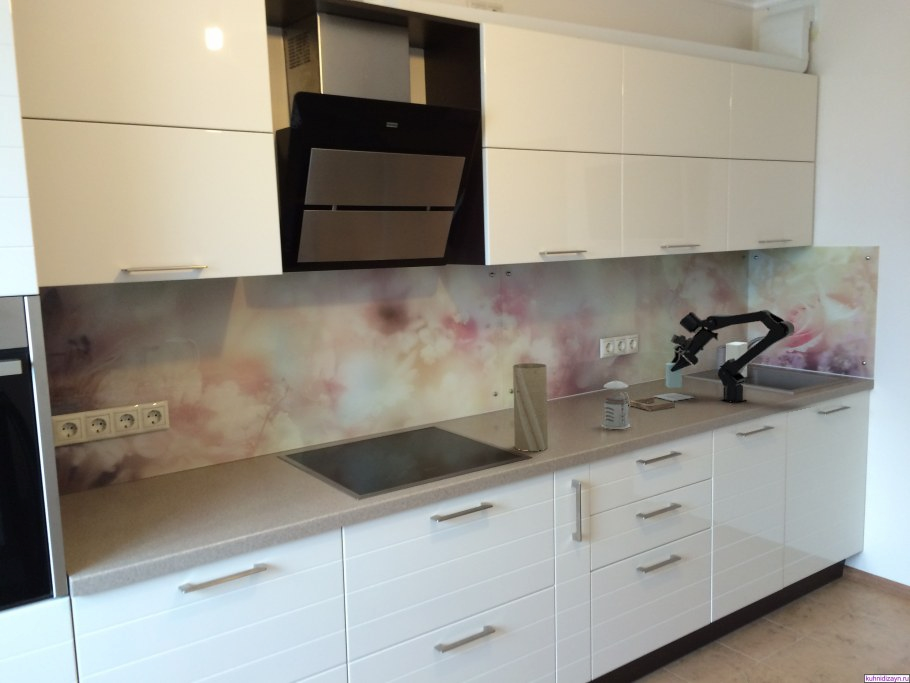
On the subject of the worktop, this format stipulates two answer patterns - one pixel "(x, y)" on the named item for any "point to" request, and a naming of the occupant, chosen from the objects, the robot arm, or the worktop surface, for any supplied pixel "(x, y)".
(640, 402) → the walnut holder
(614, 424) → the french press
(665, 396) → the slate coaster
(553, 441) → the worktop surface
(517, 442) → the tube
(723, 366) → the robot arm
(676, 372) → the grey-teal block
